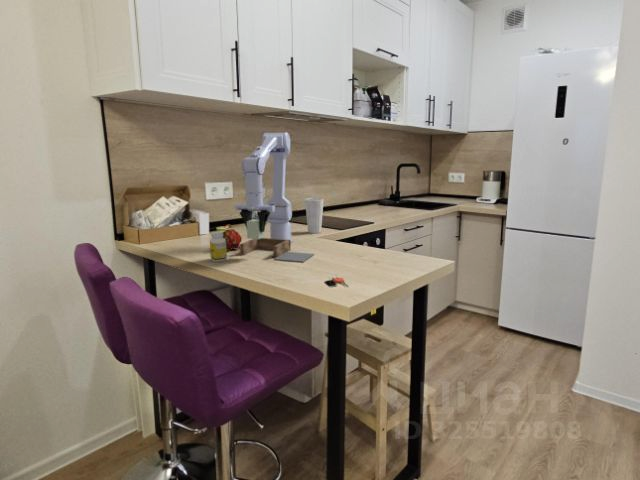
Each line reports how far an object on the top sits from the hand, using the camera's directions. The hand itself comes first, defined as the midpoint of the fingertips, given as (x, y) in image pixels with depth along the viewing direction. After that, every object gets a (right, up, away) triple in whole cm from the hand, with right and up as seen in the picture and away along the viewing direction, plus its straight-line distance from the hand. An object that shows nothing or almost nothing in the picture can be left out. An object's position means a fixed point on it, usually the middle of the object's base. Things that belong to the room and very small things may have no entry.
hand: (255, 231), depth 146 cm
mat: (+14, -9, +1) cm, 17 cm away
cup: (+20, 0, +47) cm, 51 cm away
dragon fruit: (-12, -7, +15) cm, 21 cm away
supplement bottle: (-13, -10, -1) cm, 16 cm away
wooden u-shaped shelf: (+2, -8, +9) cm, 12 cm away
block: (0, -2, +1) cm, 2 cm away
